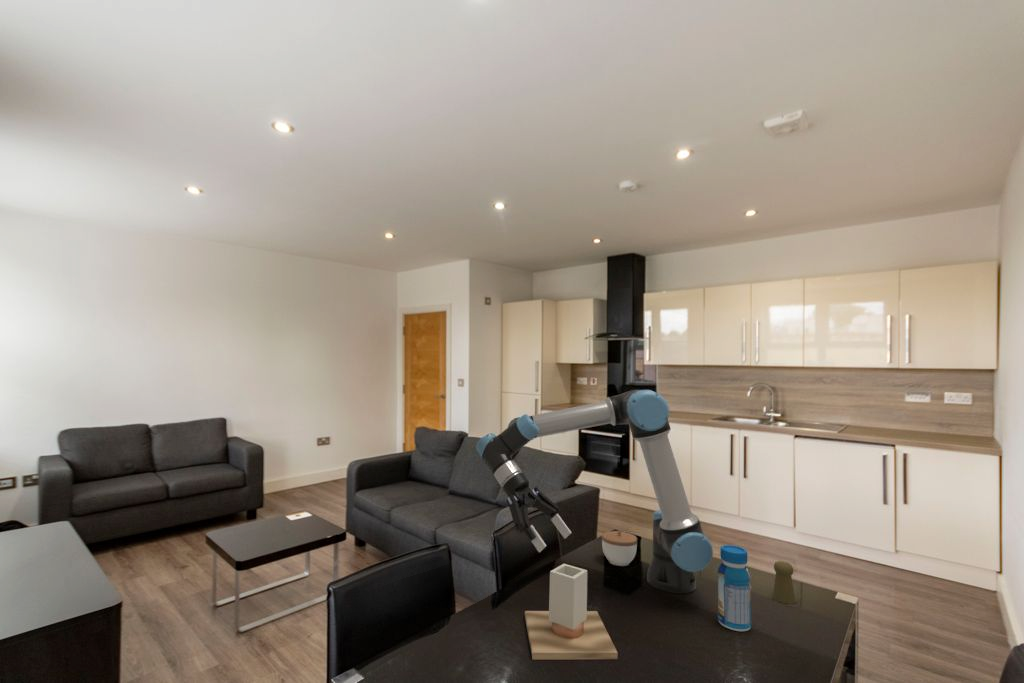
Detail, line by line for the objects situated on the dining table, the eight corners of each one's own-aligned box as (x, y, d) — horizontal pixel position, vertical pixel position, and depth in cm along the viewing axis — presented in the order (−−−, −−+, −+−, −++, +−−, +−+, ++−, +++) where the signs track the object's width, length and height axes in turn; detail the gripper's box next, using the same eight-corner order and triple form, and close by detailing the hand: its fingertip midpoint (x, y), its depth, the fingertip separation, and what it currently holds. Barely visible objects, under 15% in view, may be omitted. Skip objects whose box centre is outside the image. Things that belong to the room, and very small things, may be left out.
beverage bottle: (737, 635, 123) (737, 556, 124) (710, 620, 130) (710, 545, 132) (758, 628, 127) (757, 551, 128) (731, 614, 134) (730, 542, 136)
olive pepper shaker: (798, 605, 141) (798, 567, 142) (776, 602, 142) (776, 565, 143) (791, 596, 147) (790, 560, 148) (770, 594, 148) (769, 558, 149)
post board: (524, 616, 129) (526, 567, 130) (596, 616, 130) (597, 568, 131) (532, 659, 109) (534, 601, 110) (617, 659, 110) (618, 601, 111)
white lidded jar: (638, 559, 175) (638, 528, 176) (635, 571, 163) (635, 538, 164) (604, 554, 179) (604, 524, 180) (599, 565, 167) (599, 533, 168)
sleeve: (548, 620, 119) (550, 571, 120) (562, 610, 125) (563, 563, 126) (573, 629, 115) (574, 578, 116) (586, 619, 121) (587, 570, 122)
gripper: (528, 480, 152) (569, 538, 141) (478, 495, 131) (522, 563, 121) (542, 465, 149) (585, 523, 139) (493, 478, 129) (539, 546, 119)
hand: (556, 542), depth 130 cm, fingers open, 13 cm apart
